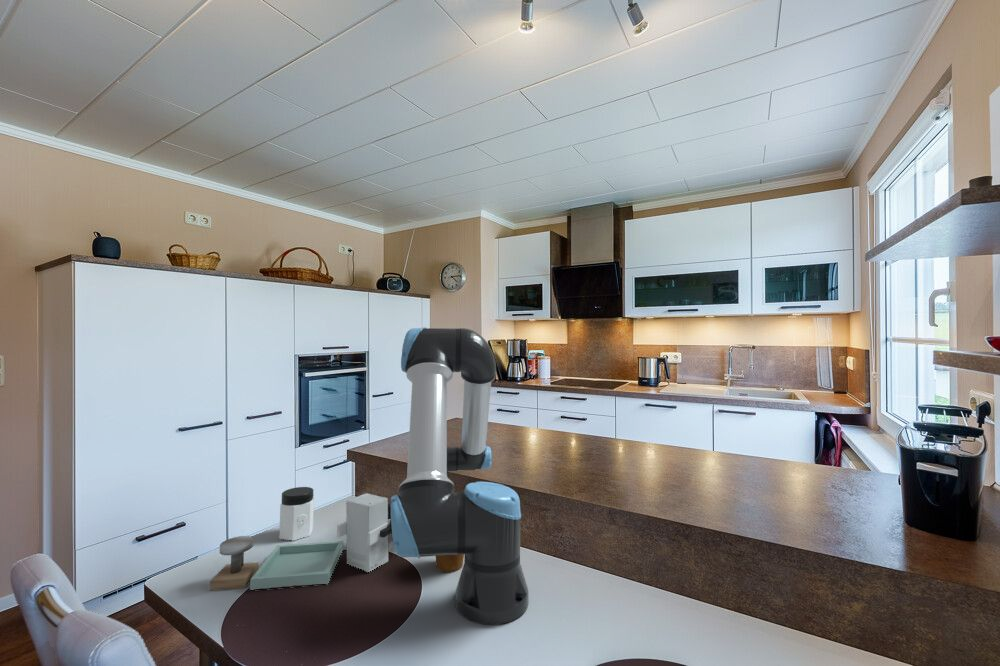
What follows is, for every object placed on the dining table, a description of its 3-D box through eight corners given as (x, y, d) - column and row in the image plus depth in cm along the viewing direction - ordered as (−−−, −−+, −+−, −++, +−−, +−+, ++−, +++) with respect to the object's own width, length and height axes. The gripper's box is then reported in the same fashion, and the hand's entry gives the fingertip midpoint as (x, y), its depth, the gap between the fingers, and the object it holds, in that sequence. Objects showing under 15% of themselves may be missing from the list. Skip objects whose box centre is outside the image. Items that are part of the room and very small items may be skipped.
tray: (328, 584, 91) (328, 573, 91) (249, 590, 88) (250, 579, 89) (343, 550, 107) (343, 540, 107) (277, 555, 104) (277, 545, 104)
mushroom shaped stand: (245, 587, 90) (246, 548, 90) (210, 590, 89) (211, 550, 89) (258, 570, 97) (259, 534, 97) (225, 573, 95) (227, 536, 96)
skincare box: (388, 562, 101) (390, 498, 102) (367, 574, 95) (368, 506, 96) (365, 553, 105) (367, 491, 106) (343, 564, 100) (345, 499, 100)
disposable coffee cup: (475, 560, 102) (476, 510, 103) (458, 579, 93) (458, 525, 94) (442, 553, 106) (442, 505, 106) (422, 571, 97) (422, 519, 97)
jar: (283, 544, 110) (285, 498, 111) (274, 534, 116) (276, 491, 117) (318, 534, 116) (319, 491, 117) (308, 525, 122) (309, 484, 123)
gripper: (443, 523, 112) (389, 561, 92) (381, 511, 121) (319, 542, 101) (444, 495, 113) (389, 527, 92) (382, 485, 122) (320, 511, 101)
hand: (353, 535), depth 96 cm, fingers closed on skincare box, 9 cm apart
